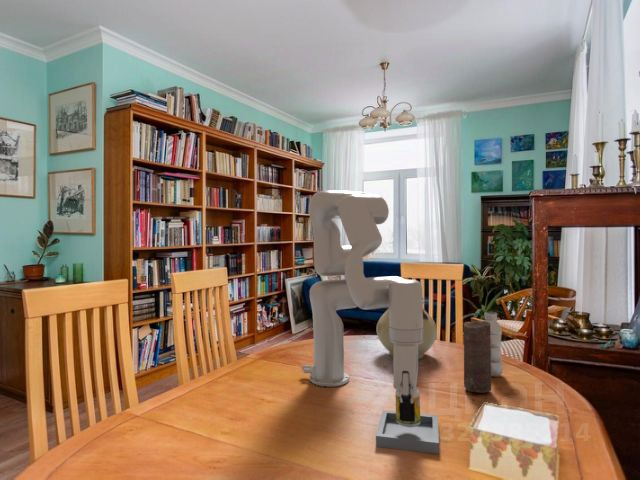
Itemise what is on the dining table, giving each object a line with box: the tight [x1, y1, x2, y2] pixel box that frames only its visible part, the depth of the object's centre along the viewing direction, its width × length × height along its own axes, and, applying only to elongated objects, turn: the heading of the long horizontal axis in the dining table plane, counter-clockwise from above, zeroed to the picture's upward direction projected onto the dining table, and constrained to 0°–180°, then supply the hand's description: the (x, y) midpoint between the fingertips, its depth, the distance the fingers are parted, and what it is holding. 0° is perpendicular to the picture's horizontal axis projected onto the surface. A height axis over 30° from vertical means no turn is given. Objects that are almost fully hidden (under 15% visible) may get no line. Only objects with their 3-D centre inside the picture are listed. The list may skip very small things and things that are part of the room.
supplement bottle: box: [394, 385, 421, 427], centre depth 89 cm, size 5×5×10 cm
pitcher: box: [375, 296, 438, 360], centre depth 148 cm, size 22×24×25 cm
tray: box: [375, 409, 440, 455], centre depth 89 cm, size 13×13×2 cm
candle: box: [463, 320, 492, 394], centre depth 113 cm, size 8×7×20 cm
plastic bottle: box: [484, 311, 504, 377], centre depth 126 cm, size 6×7×20 cm
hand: (408, 413), depth 89 cm, fingers closed on supplement bottle, 5 cm apart
